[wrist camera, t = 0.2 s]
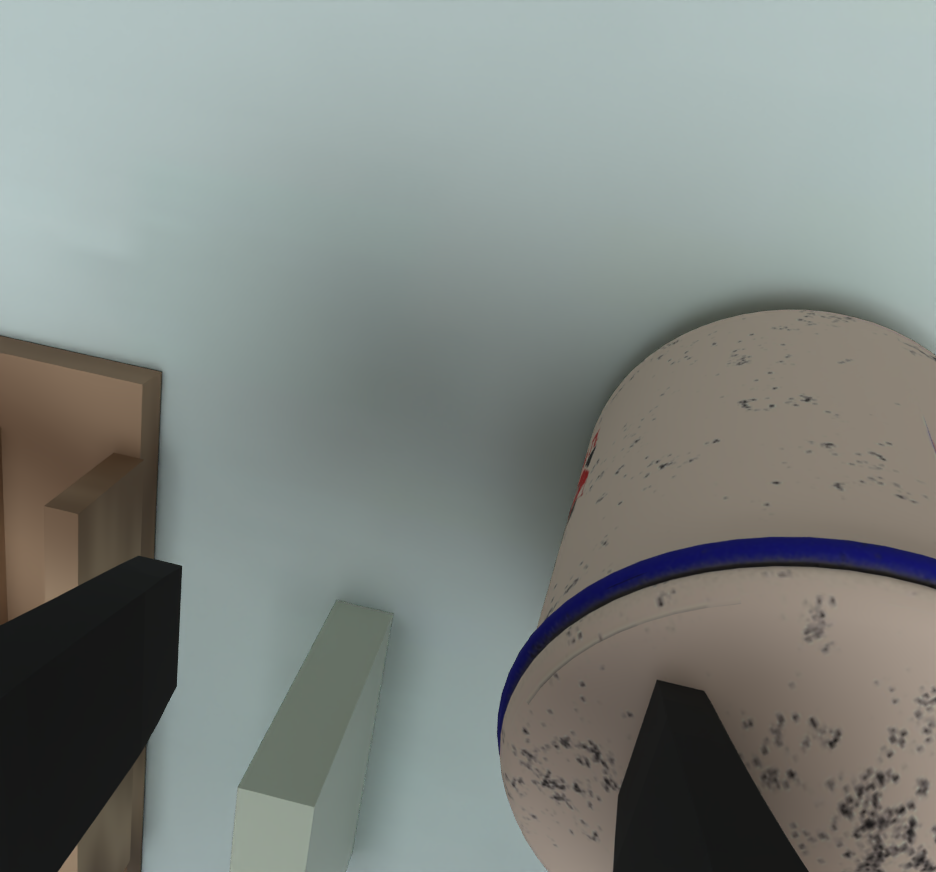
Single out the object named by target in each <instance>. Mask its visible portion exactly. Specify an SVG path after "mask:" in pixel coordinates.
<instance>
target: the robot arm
mask: <svg viewBox="0 0 936 872" xmlns="http://www.w3.org/2000/svg"><path fill="white" fill-rule="evenodd" d="M181 578H182V566H180V565H176V564H172V563H168V562H164V561H159V560H155V559H151V558H147V557H143V556H137V557H134V558H132V559H130V560H128V561H126V562H124V563H122V564H120V565H118V566H116V567H114V568H112V569H110V570H108V571H106V572H104V573H102V574H100V575H98V576H96V577H94V578H92V579H90V580H88V581H87V582H85V583H83V584H81V585H79V586H77V587H75V588H73V589H71V590H69V591H67V592H65V593H63V594H61V595H60V596H58V597H56V598H54V599H52V600H50V601H48V602H46V603H44V604H42V605H40V606H38V607H36V608H34V609H32V610H30V611H28V612H26V613H24V614H22V615H20V616H18V617H16V618H14V619H12V620H10V621H8V622H6V623H4V624H2V625H0V872H58V871H59V870H60V868H61V867H62V865H63V864H64V863H65V861H66V860H67V858H68V857H69V855H70V854H71V853H72V851H73V850H74V848H75V847H76V846H77V844H78V843H79V841H80V840H81V839H82V837H83V836H84V834H85V833H86V831H87V830H88V829H89V827H90V826H91V824H92V823H93V822H94V820H95V819H96V817H97V816H98V815H99V813H100V812H101V810H102V809H103V808H104V806H105V805H106V803H107V802H108V800H109V799H110V798H111V796H112V795H113V793H114V792H115V790H116V789H117V787H118V786H119V785H120V783H121V782H122V780H123V779H124V777H125V776H126V775H127V773H128V772H129V770H130V769H131V767H132V766H133V764H134V763H135V761H136V760H137V759H138V757H139V756H140V754H141V753H142V751H143V749H144V747H145V745H146V743H147V742H148V740H149V738H150V736H151V734H152V733H153V731H154V729H155V727H156V725H157V723H158V722H159V720H160V718H161V716H162V714H163V712H164V710H165V708H166V706H167V704H168V702H169V700H170V698H171V696H172V694H173V692H174V690H175V689H176V687H177V667H178V645H179V623H180V600H181ZM613 872H809V871H808V870H807V868H806V867H805V865H804V863H803V862H802V860H801V859H800V857H799V856H798V854H797V852H796V851H795V849H794V848H793V846H792V845H791V843H790V841H789V840H788V838H787V836H786V835H785V833H784V831H783V830H782V828H781V826H780V825H779V823H778V821H777V820H776V818H775V816H774V815H773V813H772V811H771V810H770V808H769V806H768V805H767V803H766V801H765V800H764V798H763V796H762V795H761V793H760V791H759V789H758V788H757V786H756V784H755V782H754V781H753V779H752V777H751V775H750V774H749V772H748V770H747V768H746V766H745V764H744V763H743V761H742V759H741V757H740V755H739V754H738V752H737V750H736V748H735V746H734V744H733V742H732V741H731V739H730V737H729V735H728V733H727V731H726V729H725V727H724V726H723V724H722V722H721V720H720V718H719V716H718V714H717V712H716V710H715V708H714V707H713V705H712V703H711V701H710V699H709V698H708V696H707V694H706V693H705V691H703V690H699V689H694V688H690V687H686V686H682V685H678V684H674V683H669V682H665V681H661V680H657V681H656V684H655V687H654V690H653V693H652V696H651V699H650V702H649V705H648V708H647V711H646V714H645V717H644V720H643V723H642V726H641V728H640V731H639V734H638V737H637V740H636V743H635V746H634V749H633V752H632V755H631V758H630V761H629V764H628V767H627V770H626V773H625V776H624V779H623V782H622V785H621V788H620V791H619V794H618V801H617V815H616V829H615V844H614V861H613Z"/></svg>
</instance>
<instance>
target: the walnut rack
mask: <svg viewBox="0 0 936 872" xmlns="http://www.w3.org/2000/svg"><path fill="white" fill-rule="evenodd" d="M161 377H162V372H160V371H155V370H151V369H146V368H142V367H138V366H133V365H129V364H124V363H120V362H115V361H111V360H106V359H102V358H97V357H93V356H88V355H84V354H79V353H75V352H70V351H66V350H61V349H57V348H53V347H48V346H44V345H39V344H35V343H30V342H26V341H21V340H17V339H12V338H8V337H3V336H0V625H2V624H4V623H6V622H8V621H10V620H12V619H14V618H16V617H18V616H20V615H22V614H24V613H26V612H28V611H30V610H32V609H34V608H36V607H38V606H40V605H42V604H44V603H46V602H48V601H50V600H52V599H54V598H56V597H58V596H60V595H61V594H63V593H65V592H67V591H69V590H71V589H73V588H75V587H77V586H79V585H81V584H83V583H85V582H87V581H88V580H90V579H92V578H94V577H96V576H98V575H100V574H102V573H104V572H106V571H108V570H110V569H112V568H114V567H116V566H118V565H120V564H122V563H124V562H126V561H128V560H130V559H132V558H134V557H137V556H143V557H147V558H151V559H154V544H155V520H156V496H157V472H158V448H159V424H160V401H161ZM145 760H146V745H145V747H144V749H143V751H142V753H141V754H140V756H139V757H138V759H137V760H136V761H135V763H134V764H133V766H132V767H131V769H130V770H129V772H128V773H127V775H126V776H125V777H124V779H123V780H122V782H121V783H120V785H119V786H118V787H117V789H116V790H115V792H114V793H113V795H112V796H111V798H110V799H109V800H108V802H107V803H106V805H105V806H104V808H103V809H102V810H101V812H100V813H99V815H98V816H97V817H96V819H95V820H94V822H93V823H92V824H91V826H90V827H89V829H88V830H87V831H86V833H85V834H84V836H83V837H82V839H81V840H80V841H79V843H78V844H77V846H76V847H75V848H74V850H73V851H72V853H71V854H70V855H69V857H68V858H67V860H66V861H65V863H64V864H63V865H62V867H61V868H60V870H59V871H58V872H141V856H142V832H143V808H144V784H145Z"/></svg>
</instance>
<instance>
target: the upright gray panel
mask: <svg viewBox="0 0 936 872" xmlns="http://www.w3.org/2000/svg"><path fill="white" fill-rule="evenodd" d="M392 619H393V613H389V612H384V611H380V610H376V609H372V608H367V607H363V606H359V605H355V604H351V603H346V602H342V601H338V600H336V602H335V604H334V606H333V608H332V610H331V612H330V613H329V615H328V617H327V619H326V621H325V623H324V625H323V627H322V629H321V631H320V632H319V634H318V636H317V638H316V640H315V642H314V644H313V646H312V648H311V649H310V651H309V653H308V655H307V657H306V659H305V661H304V663H303V665H302V667H301V668H300V670H299V672H298V674H297V676H296V678H295V680H294V682H293V684H292V685H291V687H290V689H289V691H288V693H287V695H286V697H285V699H284V701H283V703H282V704H281V706H280V708H279V710H278V712H277V714H276V716H275V718H274V720H273V722H272V723H271V725H270V727H269V729H268V731H267V733H266V735H265V737H264V739H263V740H262V742H261V744H260V746H259V748H258V750H257V752H256V754H255V756H254V758H253V759H252V761H251V763H250V765H249V767H248V769H247V771H246V773H245V775H244V776H243V778H242V780H241V782H240V784H239V786H238V789H237V800H236V810H235V820H234V831H233V841H232V851H231V862H230V872H346V870H347V867H348V864H349V861H350V858H351V855H352V852H353V846H354V841H355V835H356V829H357V823H358V817H359V811H360V806H361V800H362V794H363V788H364V782H365V777H366V771H367V765H368V759H369V753H370V747H371V742H372V736H373V730H374V724H375V718H376V713H377V707H378V701H379V695H380V689H381V683H382V678H383V672H384V666H385V660H386V654H387V649H388V643H389V637H390V631H391V625H392Z"/></svg>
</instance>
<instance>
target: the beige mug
mask: <svg viewBox="0 0 936 872" xmlns="http://www.w3.org/2000/svg"><path fill="white" fill-rule="evenodd" d="M657 680H661V681H665V682H669V683H674V684H678V685H682V686H686V687H690V688H694V689H699V690H703V691H705V693H706V694H707V696H708V698H709V699H710V701H711V703H712V705H713V707H714V708H715V710H716V712H717V714H718V716H719V718H720V720H721V722H722V724H723V726H724V727H725V729H726V731H727V733H728V735H729V737H730V739H731V741H732V742H733V744H734V746H735V748H736V750H737V752H738V754H739V755H740V757H741V759H742V761H743V763H744V764H745V766H746V768H747V770H748V772H749V774H750V775H751V777H752V779H753V781H754V782H755V784H756V786H757V788H758V789H759V791H760V793H761V795H762V796H763V798H764V800H765V801H766V803H767V805H768V806H769V808H770V810H771V811H772V813H773V815H774V816H775V818H776V820H777V821H778V823H779V825H780V826H781V828H782V830H783V831H784V833H785V835H786V836H787V838H788V840H789V841H790V843H791V845H792V846H793V848H794V849H795V851H796V852H797V854H798V856H799V857H800V859H801V860H802V862H803V863H804V865H805V867H806V868H807V870H808V871H809V872H936V356H935V355H934V354H933V353H931V352H930V351H929V350H927V349H925V348H924V347H922V346H921V345H919V344H918V343H916V342H915V341H913V340H911V339H909V338H907V337H905V336H903V335H901V334H899V333H898V332H896V331H893V330H891V329H888V328H886V327H883V326H881V325H878V324H876V323H873V322H870V321H866V320H863V319H859V318H856V317H852V316H847V315H842V314H837V313H832V312H823V311H814V310H787V309H786V310H771V311H761V312H754V313H748V314H742V315H738V316H734V317H730V318H725V319H721V320H718V321H716V322H713V323H710V324H707V325H704V326H701V327H699V328H697V329H694V330H692V331H690V332H687V333H685V334H683V335H681V336H679V337H678V338H676V339H674V340H672V341H670V342H669V343H667V344H665V345H664V346H662V347H661V348H659V349H658V350H656V351H655V352H654V353H652V354H651V355H649V356H648V357H647V358H646V359H645V360H643V361H642V362H641V363H640V364H639V365H638V366H636V367H635V368H634V369H633V370H632V371H631V372H630V373H629V375H628V376H627V377H626V378H625V379H624V380H623V381H622V382H621V383H620V385H619V386H618V387H617V389H616V390H615V391H614V392H613V394H612V395H611V397H610V399H609V400H608V402H607V404H606V405H605V407H604V408H603V410H602V412H601V414H600V416H599V418H598V421H597V423H596V425H595V428H594V431H593V434H592V437H591V440H590V443H589V446H588V450H587V454H586V457H585V461H584V464H583V468H582V471H581V475H580V478H579V482H578V485H577V489H576V492H575V496H574V499H573V503H572V506H571V510H570V513H569V517H568V520H567V524H566V527H565V531H564V534H563V538H562V541H561V545H560V548H559V552H558V555H557V559H556V562H555V566H554V570H553V573H552V577H551V580H550V584H549V587H548V591H547V594H546V598H545V601H544V605H543V608H542V612H541V615H540V619H539V622H538V626H537V629H536V631H535V632H534V633H533V634H532V635H531V636H530V638H529V639H528V641H527V642H526V644H525V645H524V647H523V648H522V649H521V651H520V652H519V654H518V656H517V658H516V660H515V662H514V664H513V666H512V668H511V670H510V672H509V674H508V677H507V680H506V683H505V686H504V689H503V692H502V696H501V701H500V707H499V712H498V727H497V737H498V747H499V755H500V763H501V773H502V778H503V782H504V787H505V791H506V794H507V797H508V800H509V803H510V806H511V808H512V811H513V814H514V816H515V819H516V821H517V823H518V825H519V827H520V829H521V831H522V833H523V835H524V837H525V839H526V841H527V842H528V844H529V845H530V847H531V849H532V850H533V852H534V853H535V855H536V856H537V858H538V859H539V860H540V862H541V863H542V864H543V865H544V867H545V868H546V869H547V870H548V872H613V861H614V844H615V829H616V815H617V801H618V794H619V791H620V788H621V785H622V782H623V779H624V776H625V773H626V770H627V767H628V764H629V761H630V758H631V755H632V752H633V749H634V746H635V743H636V740H637V737H638V734H639V731H640V728H641V726H642V723H643V720H644V717H645V714H646V711H647V708H648V705H649V702H650V699H651V696H652V693H653V690H654V687H655V684H656V681H657Z"/></svg>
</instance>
